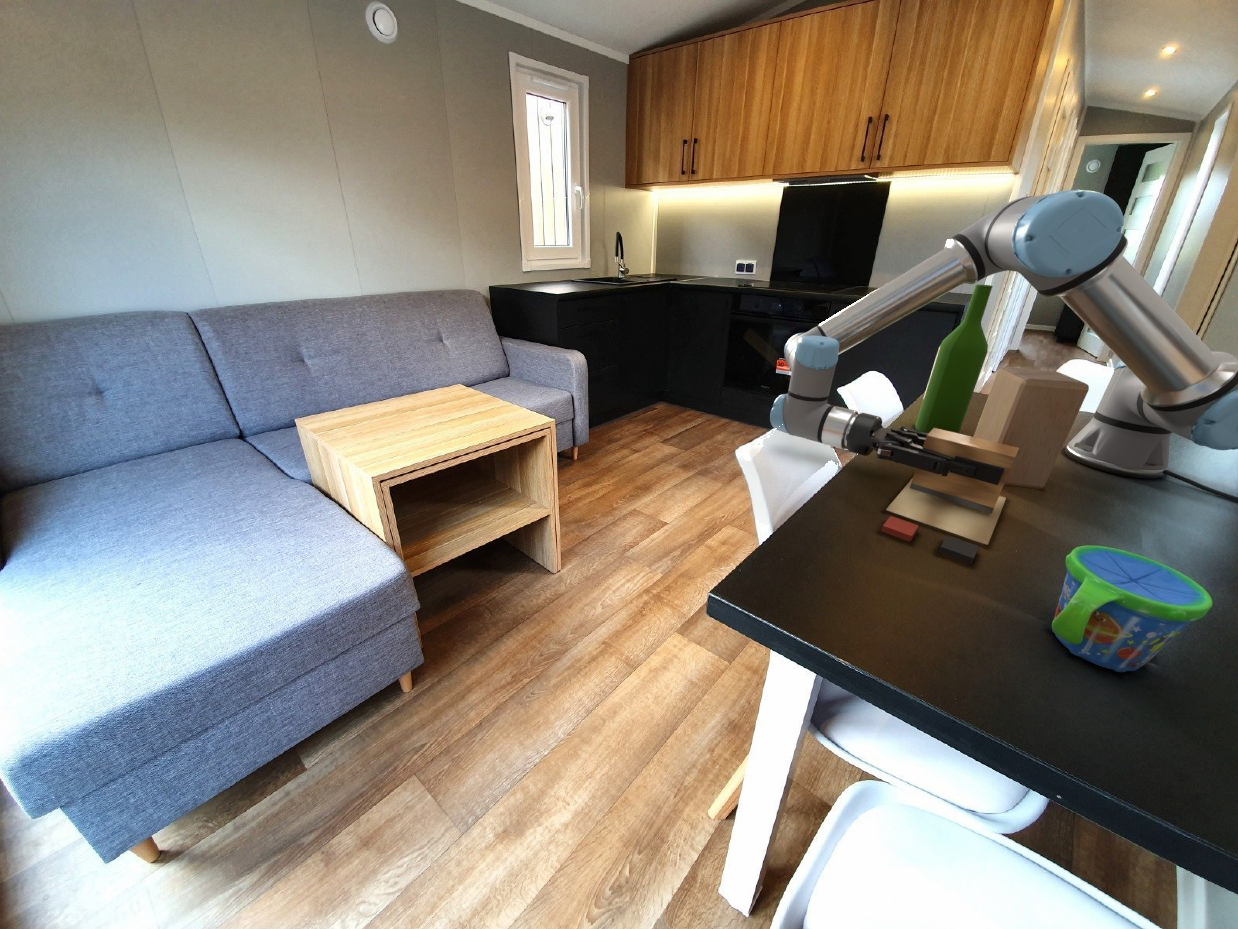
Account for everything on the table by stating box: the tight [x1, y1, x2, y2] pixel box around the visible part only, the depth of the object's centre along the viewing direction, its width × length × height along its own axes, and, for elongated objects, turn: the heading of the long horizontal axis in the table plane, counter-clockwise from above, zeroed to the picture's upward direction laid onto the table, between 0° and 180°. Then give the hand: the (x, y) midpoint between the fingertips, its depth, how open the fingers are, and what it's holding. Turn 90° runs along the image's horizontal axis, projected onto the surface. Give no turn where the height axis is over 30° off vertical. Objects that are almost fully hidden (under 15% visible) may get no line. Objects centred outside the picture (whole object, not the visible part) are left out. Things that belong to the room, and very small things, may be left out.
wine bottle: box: [914, 284, 993, 434], centre depth 109 cm, size 9×9×32 cm
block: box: [973, 366, 1090, 490], centre depth 89 cm, size 10×10×20 cm
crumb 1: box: [880, 515, 920, 543], centre depth 74 cm, size 4×4×2 cm
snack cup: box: [1051, 545, 1213, 673], centre depth 52 cm, size 16×10×10 cm
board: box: [886, 477, 1007, 545], centre depth 82 cm, size 14×20×1 cm
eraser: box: [910, 428, 1019, 513], centre depth 81 cm, size 12×5×10 cm, turn 48°
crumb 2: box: [938, 535, 980, 565], centre depth 69 cm, size 4×4×2 cm
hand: (1003, 471), depth 77 cm, fingers closed on eraser, 5 cm apart
